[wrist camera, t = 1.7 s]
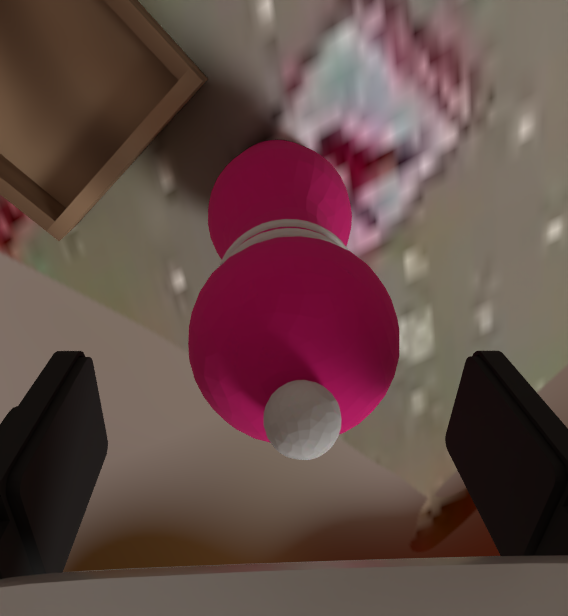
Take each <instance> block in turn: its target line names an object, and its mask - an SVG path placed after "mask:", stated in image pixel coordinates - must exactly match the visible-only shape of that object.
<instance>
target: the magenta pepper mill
mask: <svg viewBox="0 0 568 616" xmlns="http://www.w3.org/2000/svg"><path fill="white" fill-rule="evenodd" d="M351 221H352V214H351V205H350V201H349V198H348V194H347V190H346V187H345V185H344V183H343V181H342V179H341V177H340V175H339V174H338V172H337V171H336V170H335V168H334V167H333V166H332V165H331V164H330V163H329V162H328V161H327V160H326V159H325V158H324V157H322V156H321V155H319V154H318V153H316V152H315V151H313V150H311V149H308V148H306V147H304V146H301V145H299V144H296V143H293V142H290V141H285V140H269V141H264V142H261V143H258V144H255V145H253V146H251V147H250V148H248V149H247V150H245V151H244V152H243V153H241V154H240V155H238V156H237V157H236V158H234V159H233V160H232V161H231V162H230V163H229V164H228V165H227V166H226V167H225V168H224V170H223V171H222V172H221V174H220V175H219V176H218V178H217V180H216V182H215V185H214V187H213V189H212V192H211V196H210V201H209V207H208V226H209V231H210V236H211V240H212V242H213V244H214V246H215V249H216V251H217V253H218V255H219V256H220V258H221V259H222V261H221V264H220V267H219V268H217V269H216V270H215V271H214V272H213V273H212V274H211V276H210V277H209V279H208V280H207V282H206V283H205V285H204V286H203V288H202V289H201V291H200V293H199V295H198V298H197V301H196V303H195V306H194V308H193V311H192V314H191V320H190V325H189V343H188V344H189V359H190V364H191V367H192V371H193V374H194V378H195V381H196V383H197V385H198V387H199V388H200V390H201V392H202V394H203V396H204V398H205V399H206V400H207V402H208V403H209V404H210V406H211V407H212V408H213V409H214V410H215V411H216V412H217V413H218V414H219V415H220V416H221V417H222V418H223V419H224V420H225V421H226V422H227V423H229V424H230V425H232V426H233V427H234V428H236V429H237V430H239V431H241V432H243V433H245V434H247V435H249V436H251V437H253V438H255V439H259V440H263V441H267V442H270V443H271V444H272V445H273V446H274V448H275V449H276V450H277V451H278V452H280V453H281V454H283V455H285V456H287V457H289V458H294V459H301V460H302V459H303V460H309V459H313V458H317V457H319V456H321V455H322V454H324V453H325V452H327V451H328V450H329V449H330V448H331V447H332V446H333V444H334V443H335V441H336V439H337V438H338V436H339V434H341V433H344V432H346V431H347V430H349V429H351V428H353V427H354V426H356V425H358V424H359V423H360V422H361V421H362V420H364V419H365V418H366V417H367V416H368V415H369V414H370V413H371V412H372V411H373V410H374V409H375V408H376V406H377V405H378V404H379V403H380V401H381V400H382V399H383V398H384V396H385V395H386V392H387V390H388V388H389V386H390V384H391V382H392V380H393V378H394V375H395V371H396V367H397V363H398V359H399V326H398V320H397V316H396V313H395V310H394V307H393V304H392V300H391V298H390V296H389V294H388V292H387V290H386V288H385V287H384V285H383V284H382V282H381V281H380V280H379V278H378V277H377V275H376V274H375V273H374V272H373V271H372V269H371V268H370V267H369V266H368V265H367V264H366V263H365V262H363V261H362V260H361V259H359V258H358V257H357V256H355V255H354V254H353V253H351V252H350V251H349V250H348V249H347V247H346V246H347V242H348V239H349V234H350V230H351Z"/></svg>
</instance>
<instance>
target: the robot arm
mask: <svg viewBox="0 0 568 616" xmlns="http://www.w3.org/2000/svg"><path fill="white" fill-rule="evenodd" d="M445 441H446V447H447V450H448V452H449V454H450V456H451V458H452V460H453V462H454V464H455V466H456V468H457V470H458V472H459V474H460V476H461V478H462V480H463V482H464V484H465V486H466V488H467V490H468V492H469V494H470V496H471V498H472V500H473V502H474V504H475V505H476V507H477V509H478V511H479V513H480V515H481V517H482V519H483V521H484V523H485V525H486V527H487V529H488V531H489V533H490V535H491V537H492V539H493V541H494V543H495V545H496V547H497V549H498V551H499V553H500V555H501V556H486V557H450V558H416V559H415V558H414V559H381V560H380V559H379V560H349V561H319V562H293V563H291V562H290V563H262V564H235V565H211V566H184V567H159V568H134V569H116V570H98V571H80V572H64V573H63V569H64V567H65V564H66V562H67V559H68V556H69V553H70V551H71V548H72V546H73V543H74V540H75V537H76V534H77V532H78V529H79V527H80V524H81V521H82V519H83V516H84V513H85V511H86V508H87V505H88V503H89V500H90V497H91V494H92V492H93V489H94V486H95V484H96V481H97V478H98V476H99V473H100V470H101V468H102V465H103V462H104V460H105V457H106V454H107V448H108V440H107V435H106V429H105V424H104V419H103V413H102V408H101V403H100V398H99V392H98V387H97V382H96V377H95V371H94V366H93V361H92V359H91V358H90V357H85V355H84V353H83V352H81V351H57V352H55V353H54V354H53V356H52V357H51V359H50V360H49V362H48V363H47V365H46V366H45V368H44V369H43V370H42V372H41V373H40V375H39V376H38V378H37V379H36V381H35V382H34V384H33V385H32V387H31V388H30V389H29V391H28V392H27V394H26V395H25V397H24V398H23V400H22V401H21V403H20V404H19V406H17V407H15V408H13V409H12V410H11V411H10V412H9V413H8V414H7V415H6V417H5V418H4V420H3V421H2V423H1V424H0V616H568V428H567V427H566V426H565V425H564V424H563V423H562V421H561V420H560V419H559V418H558V417H557V416H556V415H555V413H554V412H553V411H552V410H551V409H550V408H549V406H548V405H547V404H546V403H545V402H544V401H543V400H542V399H541V397H540V396H539V395H538V394H537V393H536V391H535V390H534V389H533V388H532V387H531V386H530V384H529V383H528V382H527V381H526V380H525V379H524V377H523V376H522V375H521V374H520V373H519V372H518V370H517V369H516V368H515V367H514V366H513V365H512V364H511V362H510V361H509V360H508V359H507V358H506V357H505V355H504V354H503V353H502V352H500V351H476V352H475V353H474V354H473V356H472V357H468V358H467V360H466V362H465V366H464V370H463V373H462V377H461V381H460V384H459V388H458V392H457V395H456V399H455V403H454V407H453V410H452V414H451V418H450V421H449V425H448V429H447V432H446V437H445Z"/></svg>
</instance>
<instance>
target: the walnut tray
mask: <svg viewBox="0 0 568 616" xmlns="http://www.w3.org/2000/svg"><path fill="white" fill-rule="evenodd" d="M207 80H208V78H207V77H206V76H205V75H204V73H203V72H202V71H201V70H200V69H199V68H198V67H197V66H196V65H195V64H194V62H193V61H192V60H191V59H190V58H189V57H188V56H187V55H186V54H185V52H184V51H183V50H182V49H181V48H180V47H179V46H178V45H177V44H176V43H175V41H174V40H173V39H172V38H171V37H170V36H169V35H168V34H167V33H166V31H165V30H164V29H163V28H162V27H161V26H160V25H159V24H158V23H157V21H156V20H155V19H154V18H153V17H152V16H151V15H150V14H149V13H148V12H147V10H146V9H145V8H144V7H143V6H142V5H141V4H140V3H139V2H138V0H0V195H2V196H3V197H4V198H5V199H7V200H8V201H9V202H10V203H12V204H13V205H14V206H15V207H17V208H18V209H19V210H20V211H22V212H23V213H24V214H26V215H27V216H28V217H29V218H31V219H32V220H33V221H34V222H36V223H37V224H38V225H39V226H41V227H42V228H43V229H44V230H46V231H47V232H48V233H50V234H51V235H52V236H53V237H55V238H56V239H57V240H58V241H60V240H61V239H62V238H63V237H64V236H65V235H66V234H68V233H69V232H70V231H71V230H72V229H73V228H74V227H75V226H76V225H77V224H78V223H79V222H80V221H81V220H82V218H83V217H84V216H85V215H86V214H87V213H88V212H89V211H90V210H91V208H92V207H93V206H94V205H95V204H96V203H97V202H98V201H99V200H100V198H101V197H102V196H103V195H104V194H105V193H106V192H107V191H108V190H109V189H110V187H111V186H112V185H113V184H114V183H115V182H116V181H117V180H118V179H119V177H120V176H121V175H122V174H123V173H124V172H125V171H126V170H127V169H128V167H129V166H130V165H131V164H132V163H133V162H134V161H135V160H136V159H137V157H138V156H139V155H140V154H141V153H142V152H143V151H144V150H145V149H146V147H147V146H148V145H149V144H150V143H151V142H152V141H153V140H154V139H155V138H156V136H157V135H158V134H159V133H160V132H161V131H162V130H163V129H164V128H165V126H166V125H167V124H168V123H169V122H170V121H171V120H172V119H173V118H174V116H175V115H176V114H177V113H178V112H179V111H180V110H181V109H182V108H183V106H184V105H185V104H186V103H187V102H188V101H189V100H190V99H191V98H192V97H193V95H194V94H195V93H196V92H197V91H198V90H199V89H200V88H201V87H202V85H203V84H204V83H205V82H206V81H207Z"/></svg>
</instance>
